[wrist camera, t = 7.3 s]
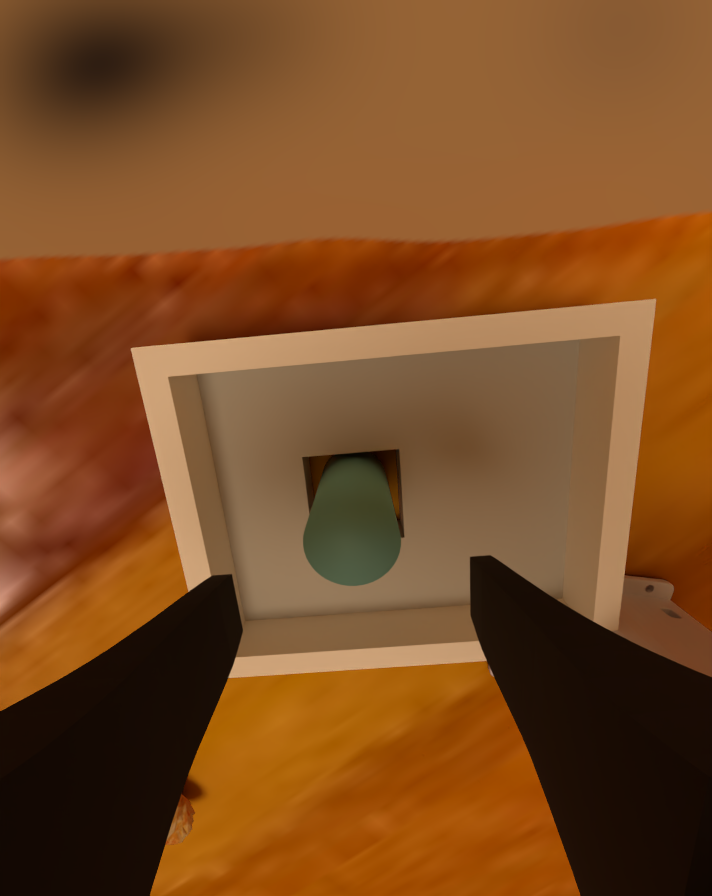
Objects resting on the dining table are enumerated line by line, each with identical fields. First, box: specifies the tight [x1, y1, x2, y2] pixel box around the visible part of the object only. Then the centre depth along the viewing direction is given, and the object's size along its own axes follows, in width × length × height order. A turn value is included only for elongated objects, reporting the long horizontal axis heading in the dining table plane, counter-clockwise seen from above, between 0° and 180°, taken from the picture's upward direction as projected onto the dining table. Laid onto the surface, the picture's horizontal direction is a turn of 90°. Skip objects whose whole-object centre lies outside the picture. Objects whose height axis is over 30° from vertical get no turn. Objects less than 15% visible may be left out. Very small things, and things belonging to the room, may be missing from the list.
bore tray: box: [131, 299, 656, 678], centre depth 17 cm, size 20×16×4 cm
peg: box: [303, 452, 401, 586], centre depth 16 cm, size 4×4×7 cm
